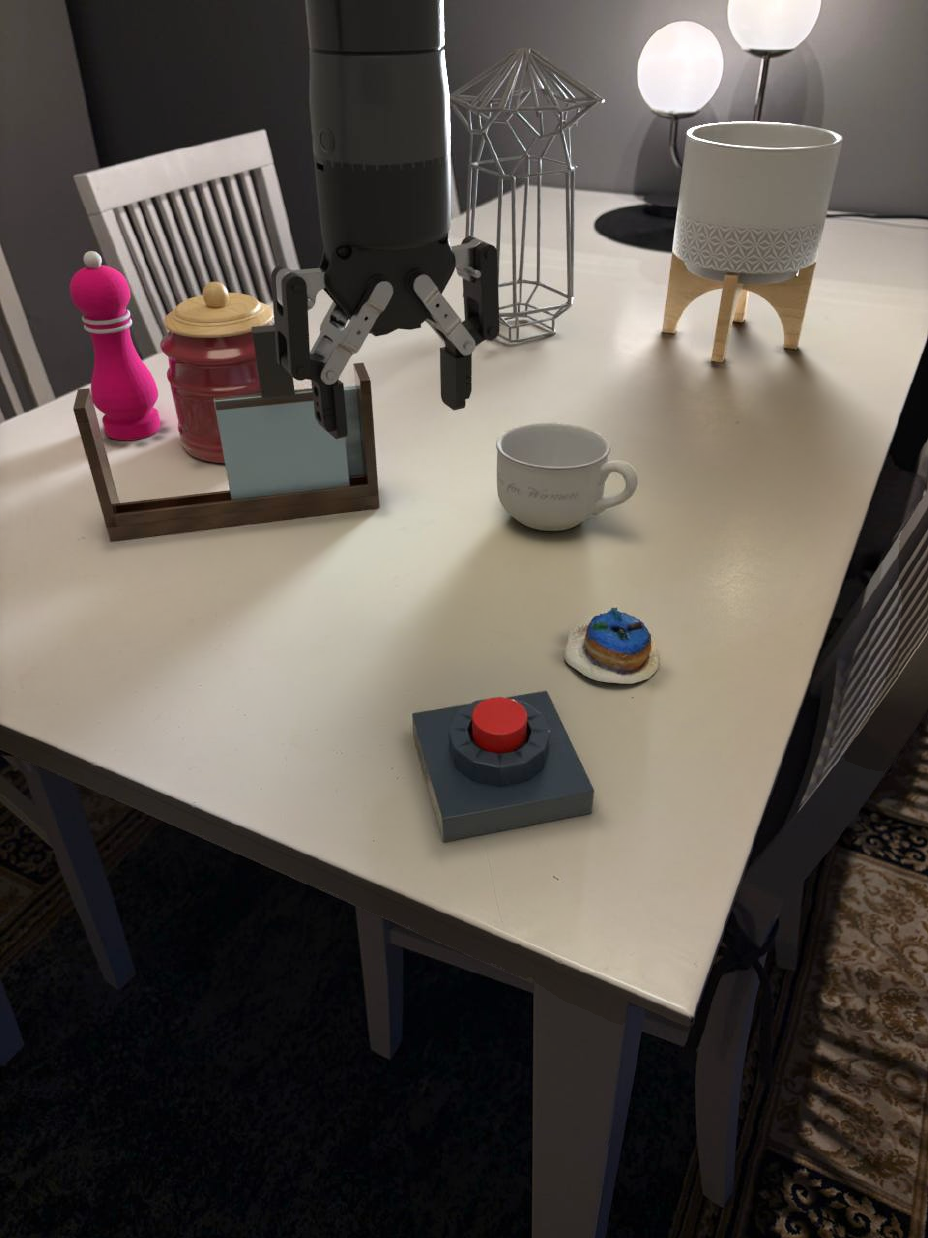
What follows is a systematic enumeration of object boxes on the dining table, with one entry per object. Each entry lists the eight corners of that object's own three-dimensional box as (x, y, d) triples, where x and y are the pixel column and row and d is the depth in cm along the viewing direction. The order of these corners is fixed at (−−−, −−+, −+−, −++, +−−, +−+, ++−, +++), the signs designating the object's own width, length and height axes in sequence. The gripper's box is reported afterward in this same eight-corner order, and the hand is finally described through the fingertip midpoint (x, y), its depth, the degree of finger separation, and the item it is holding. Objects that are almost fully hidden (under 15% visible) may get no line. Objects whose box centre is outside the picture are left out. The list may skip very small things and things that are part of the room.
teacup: (472, 516, 90) (472, 442, 85) (541, 478, 96) (545, 407, 92) (585, 569, 82) (592, 491, 78) (652, 524, 89) (663, 449, 84)
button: (479, 758, 59) (479, 738, 58) (466, 721, 61) (466, 701, 60) (533, 748, 59) (534, 729, 58) (517, 712, 62) (518, 693, 61)
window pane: (233, 509, 88) (202, 336, 78) (232, 501, 90) (201, 330, 79) (351, 495, 90) (335, 325, 80) (348, 487, 92) (333, 319, 81)
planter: (647, 352, 125) (672, 142, 110) (676, 310, 139) (702, 118, 124) (789, 371, 119) (836, 152, 104) (804, 325, 133) (848, 126, 118)
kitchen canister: (315, 448, 102) (296, 288, 92) (202, 476, 97) (169, 310, 86) (272, 407, 111) (251, 257, 101) (167, 431, 106) (133, 276, 95)
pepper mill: (89, 440, 104) (40, 259, 92) (119, 414, 110) (75, 240, 98) (149, 444, 103) (106, 262, 91) (175, 418, 109) (138, 243, 97)
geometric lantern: (500, 357, 124) (505, 57, 103) (444, 323, 135) (439, 45, 114) (593, 336, 130) (616, 49, 109) (532, 305, 141) (543, 39, 120)
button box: (443, 842, 58) (441, 800, 55) (412, 735, 65) (410, 693, 63) (592, 813, 60) (597, 770, 57) (545, 712, 67) (548, 671, 65)
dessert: (679, 675, 69) (641, 626, 66) (608, 722, 71) (567, 677, 68) (646, 619, 76) (609, 573, 73) (581, 664, 77) (543, 620, 74)
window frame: (110, 541, 87) (72, 408, 79) (113, 518, 90) (77, 389, 82) (379, 507, 92) (370, 379, 83) (372, 487, 95) (363, 362, 87)
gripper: (460, 124, 55) (461, 379, 65) (234, 146, 50) (272, 421, 59) (527, 143, 50) (518, 417, 60) (283, 170, 45) (316, 468, 54)
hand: (396, 419), depth 60 cm, fingers open, 8 cm apart
